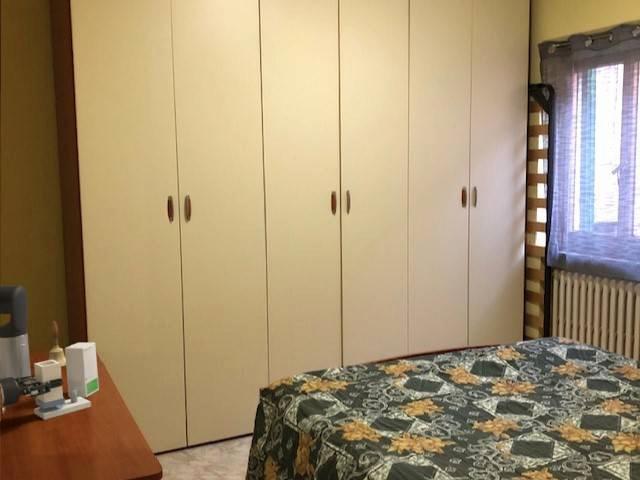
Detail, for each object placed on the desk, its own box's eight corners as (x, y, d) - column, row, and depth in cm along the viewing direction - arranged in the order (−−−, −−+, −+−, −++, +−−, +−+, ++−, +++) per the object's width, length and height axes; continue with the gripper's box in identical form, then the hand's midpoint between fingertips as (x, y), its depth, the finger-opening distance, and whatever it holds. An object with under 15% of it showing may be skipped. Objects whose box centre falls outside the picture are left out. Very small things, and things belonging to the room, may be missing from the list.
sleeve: (44, 408, 202) (41, 367, 201) (35, 403, 207) (32, 363, 205) (64, 403, 206) (61, 362, 205) (55, 398, 211) (53, 359, 209)
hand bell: (50, 369, 252) (47, 324, 250) (41, 364, 258) (38, 321, 256) (73, 364, 257) (70, 320, 255) (64, 359, 263) (60, 317, 261)
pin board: (44, 419, 202) (43, 402, 202) (34, 413, 207) (33, 397, 207) (91, 406, 212) (89, 390, 211) (80, 401, 217) (79, 385, 216)
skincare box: (86, 398, 219) (82, 348, 217) (66, 397, 221) (63, 348, 219) (99, 389, 227) (96, 341, 226) (80, 388, 229) (77, 341, 227)
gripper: (6, 386, 190) (67, 371, 202) (-13, 375, 201) (46, 362, 212) (8, 413, 191) (69, 397, 203) (-11, 401, 202) (48, 386, 213)
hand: (57, 379), depth 208 cm, fingers closed on sleeve, 5 cm apart
